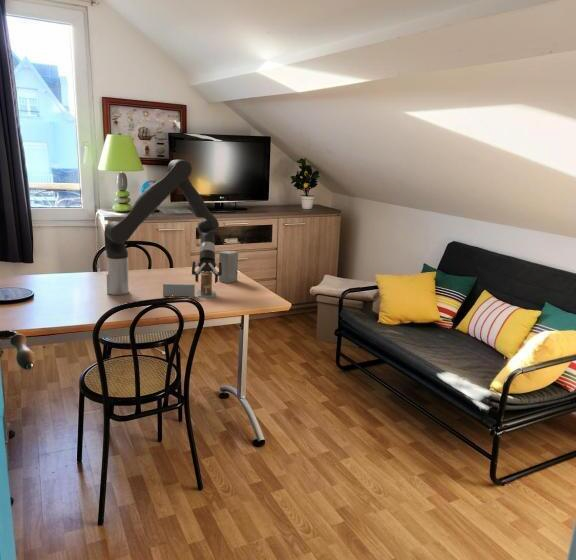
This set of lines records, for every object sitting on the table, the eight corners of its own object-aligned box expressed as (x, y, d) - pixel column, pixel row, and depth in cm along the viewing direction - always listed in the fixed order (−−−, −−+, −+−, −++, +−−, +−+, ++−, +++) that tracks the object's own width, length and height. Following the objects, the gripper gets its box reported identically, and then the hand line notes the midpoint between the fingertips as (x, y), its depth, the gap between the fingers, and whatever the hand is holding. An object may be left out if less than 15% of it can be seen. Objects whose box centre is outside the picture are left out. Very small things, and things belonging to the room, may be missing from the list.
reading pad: (197, 297, 247) (197, 295, 247) (198, 292, 254) (198, 290, 254) (214, 297, 248) (214, 296, 248) (214, 292, 256) (214, 291, 255)
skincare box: (227, 283, 271) (228, 254, 267) (217, 280, 275) (218, 251, 271) (238, 280, 278) (239, 251, 274) (228, 278, 282) (229, 249, 278)
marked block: (200, 295, 248) (201, 274, 245) (201, 291, 253) (201, 272, 250) (211, 295, 249) (211, 275, 246) (211, 292, 254) (212, 272, 251)
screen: (163, 296, 244) (163, 284, 243) (163, 295, 245) (163, 283, 244) (194, 297, 246) (194, 285, 245) (194, 296, 248) (194, 284, 246)
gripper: (192, 248, 252) (191, 277, 244) (222, 249, 254) (221, 278, 246) (192, 256, 258) (191, 285, 250) (221, 257, 260) (221, 286, 252)
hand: (206, 282), depth 248 cm, fingers open, 8 cm apart
